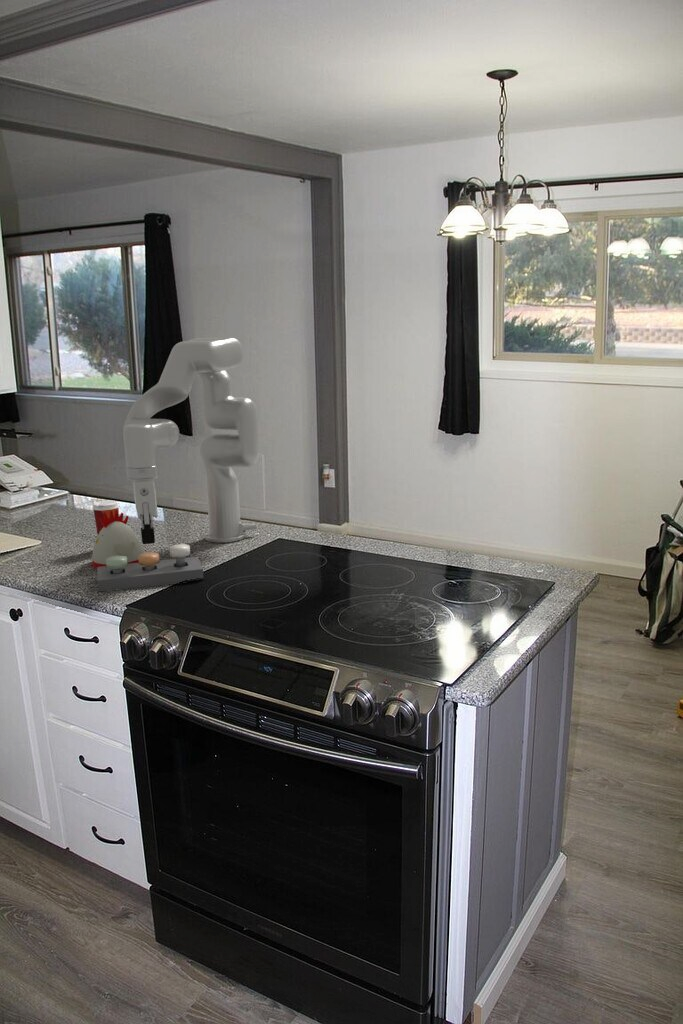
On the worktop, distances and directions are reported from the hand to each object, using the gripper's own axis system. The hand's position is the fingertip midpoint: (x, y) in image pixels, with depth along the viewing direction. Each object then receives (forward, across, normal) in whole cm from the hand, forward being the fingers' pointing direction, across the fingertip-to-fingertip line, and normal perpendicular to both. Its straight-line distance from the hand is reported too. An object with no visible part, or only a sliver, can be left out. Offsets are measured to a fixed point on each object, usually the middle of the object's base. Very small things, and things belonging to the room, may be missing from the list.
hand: (148, 542), depth 218 cm
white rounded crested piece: (+10, +19, +8) cm, 23 cm away
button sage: (+8, 0, +8) cm, 12 cm away
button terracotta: (+8, 0, 0) cm, 8 cm away
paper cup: (+10, +34, +11) cm, 37 cm away
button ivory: (+7, 0, -8) cm, 10 cm away
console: (+10, 0, 0) cm, 10 cm away
